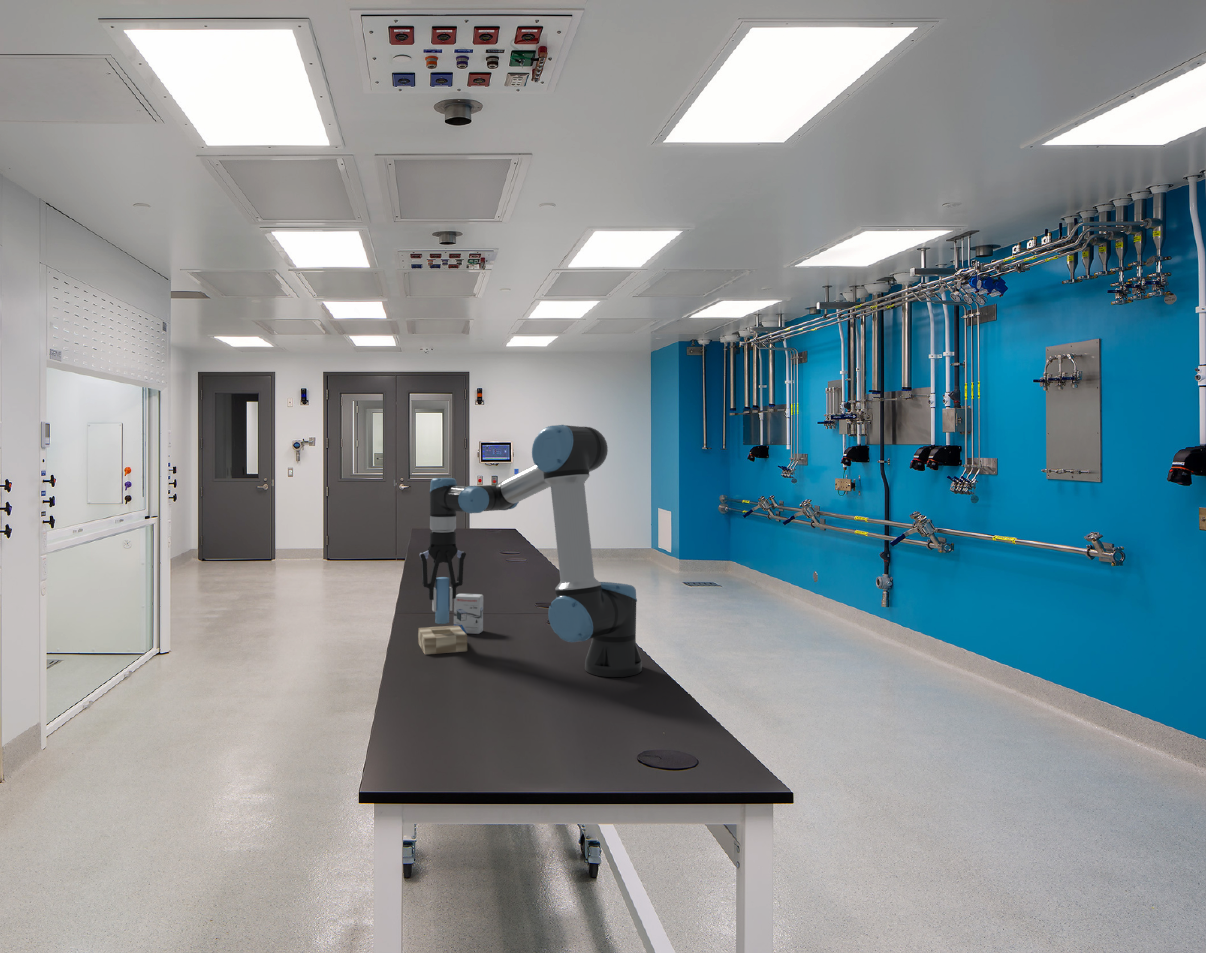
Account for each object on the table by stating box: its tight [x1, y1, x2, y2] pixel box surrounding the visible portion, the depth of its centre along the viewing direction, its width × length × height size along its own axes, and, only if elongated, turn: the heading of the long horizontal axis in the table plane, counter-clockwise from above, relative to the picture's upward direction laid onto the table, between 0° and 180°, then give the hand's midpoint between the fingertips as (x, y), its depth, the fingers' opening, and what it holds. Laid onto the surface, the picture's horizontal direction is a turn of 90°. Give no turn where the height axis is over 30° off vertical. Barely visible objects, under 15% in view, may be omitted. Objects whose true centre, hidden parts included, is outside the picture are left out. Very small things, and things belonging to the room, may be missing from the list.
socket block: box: [417, 625, 468, 655], centre depth 227 cm, size 14×12×4 cm
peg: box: [434, 576, 450, 625], centre depth 227 cm, size 4×4×13 cm
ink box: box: [453, 593, 484, 635], centre depth 247 cm, size 9×5×12 cm, turn 84°
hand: (442, 610), depth 227 cm, fingers closed on peg, 4 cm apart
